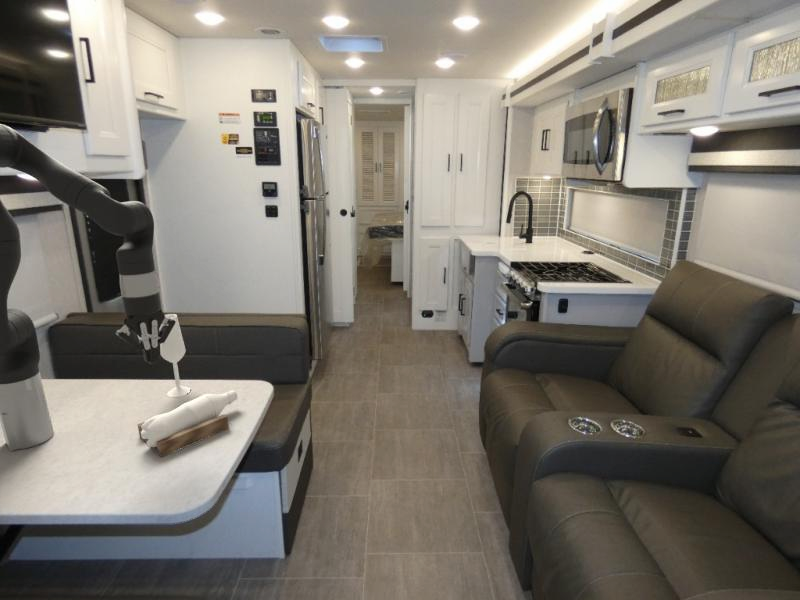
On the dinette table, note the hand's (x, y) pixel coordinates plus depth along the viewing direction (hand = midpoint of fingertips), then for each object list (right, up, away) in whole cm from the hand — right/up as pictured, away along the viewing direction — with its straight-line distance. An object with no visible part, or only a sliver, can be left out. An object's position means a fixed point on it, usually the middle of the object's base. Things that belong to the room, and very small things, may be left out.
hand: (152, 362), depth 111 cm
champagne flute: (-8, -13, +31) cm, 35 cm away
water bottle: (-2, -18, 0) cm, 18 cm away
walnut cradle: (+4, -19, +9) cm, 22 cm away
